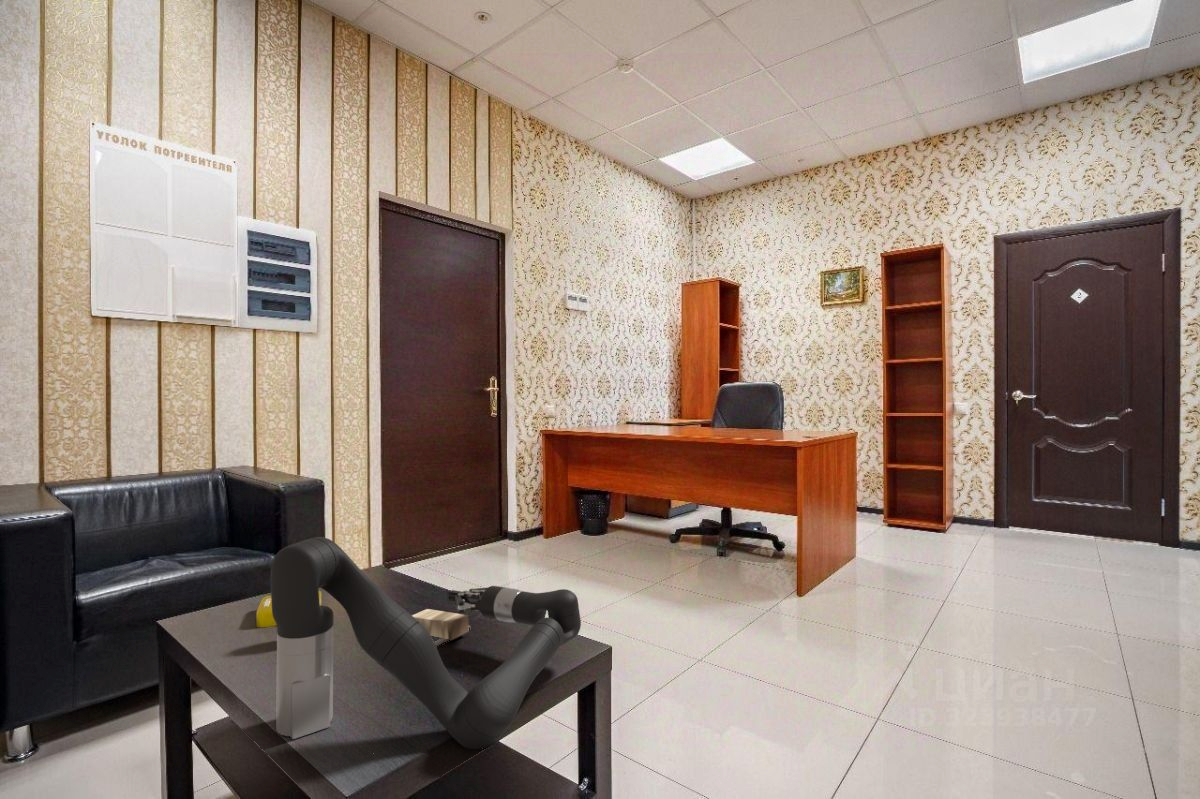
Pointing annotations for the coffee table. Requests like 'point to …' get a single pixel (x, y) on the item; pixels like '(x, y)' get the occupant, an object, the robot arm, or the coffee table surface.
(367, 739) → the coffee table surface
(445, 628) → the birch block
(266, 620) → the element tile
